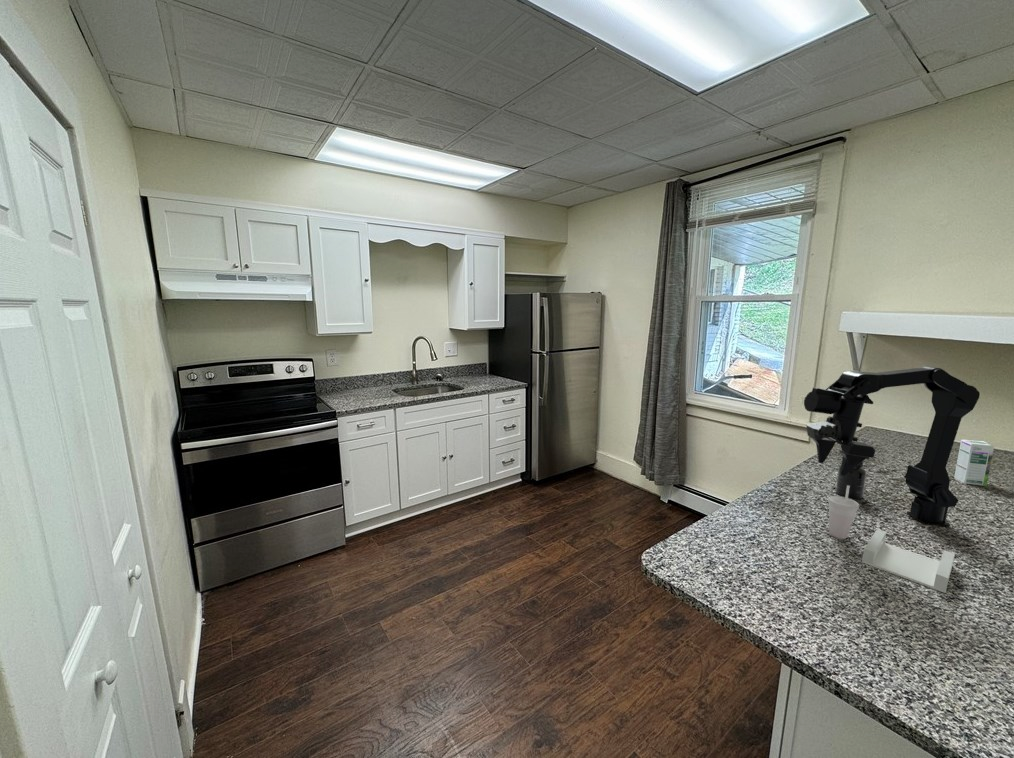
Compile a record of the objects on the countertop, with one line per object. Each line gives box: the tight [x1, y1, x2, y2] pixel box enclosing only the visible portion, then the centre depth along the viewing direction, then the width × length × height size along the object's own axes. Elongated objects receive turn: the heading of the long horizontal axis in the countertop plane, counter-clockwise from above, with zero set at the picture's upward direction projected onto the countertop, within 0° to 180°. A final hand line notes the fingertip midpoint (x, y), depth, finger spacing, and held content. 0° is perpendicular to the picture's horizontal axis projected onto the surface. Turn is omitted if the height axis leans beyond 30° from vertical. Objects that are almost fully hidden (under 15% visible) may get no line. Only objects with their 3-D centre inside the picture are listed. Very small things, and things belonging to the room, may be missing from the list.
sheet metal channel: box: [861, 528, 956, 594], centre depth 95 cm, size 14×14×4 cm
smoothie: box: [827, 485, 860, 540], centre depth 107 cm, size 6×6×14 cm
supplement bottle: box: [835, 461, 867, 500], centre depth 131 cm, size 7×7×12 cm
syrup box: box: [954, 439, 995, 487], centre depth 141 cm, size 6×6×14 cm
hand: (831, 468), depth 116 cm, fingers open, 9 cm apart
